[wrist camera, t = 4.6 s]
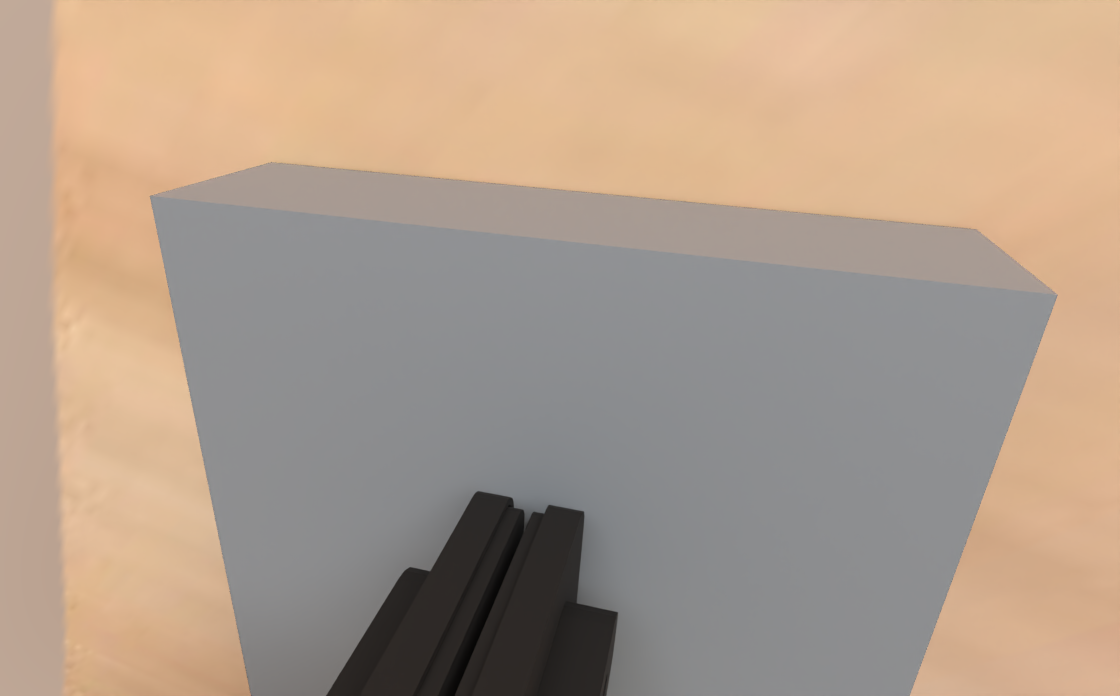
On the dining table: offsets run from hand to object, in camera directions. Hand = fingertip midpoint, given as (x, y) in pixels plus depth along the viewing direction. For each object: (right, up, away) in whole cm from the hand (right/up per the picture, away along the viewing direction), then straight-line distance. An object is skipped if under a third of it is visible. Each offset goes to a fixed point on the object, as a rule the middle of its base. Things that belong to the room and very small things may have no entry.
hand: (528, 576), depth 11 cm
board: (0, -5, +6) cm, 8 cm away
